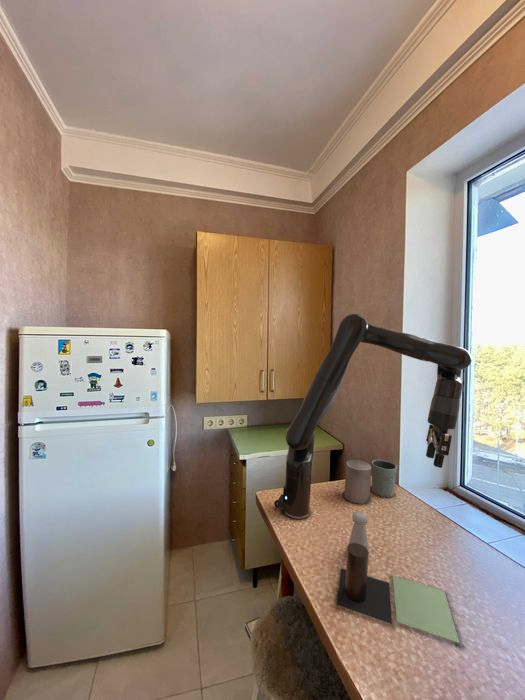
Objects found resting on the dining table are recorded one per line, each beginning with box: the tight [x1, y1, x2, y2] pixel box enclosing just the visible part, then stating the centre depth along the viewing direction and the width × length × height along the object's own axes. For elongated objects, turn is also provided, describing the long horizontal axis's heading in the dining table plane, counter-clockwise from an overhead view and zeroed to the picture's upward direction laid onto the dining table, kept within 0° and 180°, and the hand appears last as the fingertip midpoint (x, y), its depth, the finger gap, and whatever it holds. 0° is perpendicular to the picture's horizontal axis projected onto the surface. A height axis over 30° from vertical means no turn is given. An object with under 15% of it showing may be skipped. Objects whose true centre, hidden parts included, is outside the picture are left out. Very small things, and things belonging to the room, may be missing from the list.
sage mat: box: [392, 575, 460, 646], centre depth 70 cm, size 12×14×1 cm
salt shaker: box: [347, 510, 370, 553], centre depth 85 cm, size 6×6×13 cm
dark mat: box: [336, 568, 393, 625], centre depth 73 cm, size 12×12×1 cm
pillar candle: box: [343, 459, 372, 505], centre depth 119 cm, size 10×10×15 cm
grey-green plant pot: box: [370, 459, 398, 498], centre depth 125 cm, size 10×10×12 cm
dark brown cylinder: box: [345, 543, 370, 603], centre depth 72 cm, size 5×5×11 cm
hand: (433, 461), depth 91 cm, fingers open, 8 cm apart
